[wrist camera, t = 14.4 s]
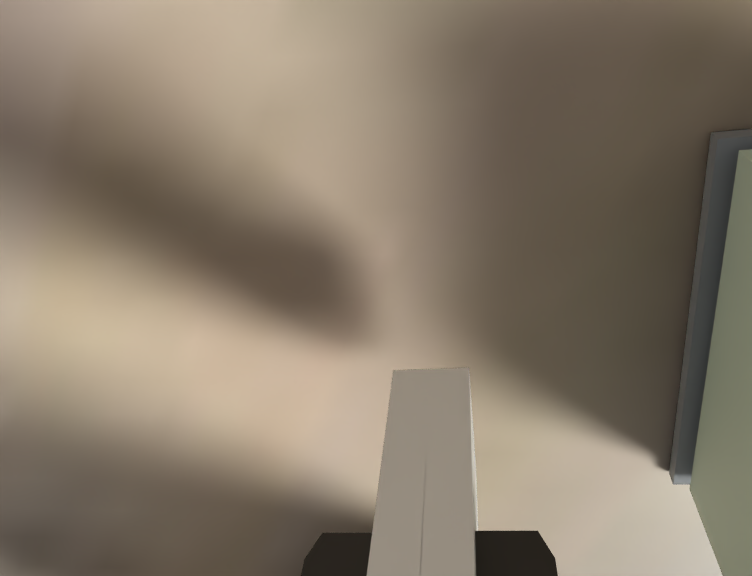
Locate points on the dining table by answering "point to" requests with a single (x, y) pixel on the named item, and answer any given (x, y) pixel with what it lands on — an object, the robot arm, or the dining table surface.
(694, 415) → the endcap base
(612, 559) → the dining table surface
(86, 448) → the dining table surface
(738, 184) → the end cap
